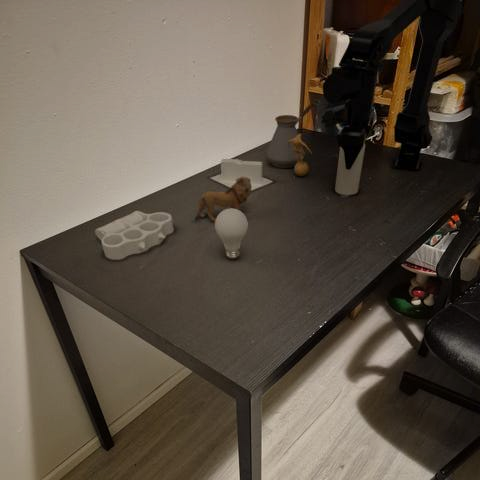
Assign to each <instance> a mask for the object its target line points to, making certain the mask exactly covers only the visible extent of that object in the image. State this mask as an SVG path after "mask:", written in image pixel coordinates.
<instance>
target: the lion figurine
mask: <svg viewBox="0 0 480 480" xmlns="http://www.w3.org/2000/svg"><path fill="white" fill-rule="evenodd" d="M251 187H252V186H251V183H250V179H248V178H247V177H244V176H243V177H240V178H238V179H236V183H235V184H234V185H232V187H231V188H230V187H229V188H228V189H227V190H225V191H214V190H209V191H206V192H204V193H203V194H202V195H201V197H200V198H199V201H198V210H197V214H196V216H195V218H194V221H198V220H199V219H200V218H204V217H205V216H206V214H205V213H203V212H204V211H205V210H206V209H207V210H208V213H207V215H208V217H209V218H210V220H211V221H212V222H215V221H216V218H217V217H214V215H213V213H214V210H215V205H216V206H218V207H220V208H227V207H230V208H233V209H237V210H239V211H241V210H240V209H241V205H242V204H245V203H246V202H247V201H248V198H249V196H251V192H252V191H251Z"/></svg>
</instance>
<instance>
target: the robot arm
mask: <svg viewBox="0 0 480 480" xmlns="http://www.w3.org/2000/svg"><path fill="white" fill-rule="evenodd" d="M462 11H463V3H462V2H461V0H402V1H400V2H399V3H398V4H397V5H396V6H395V7H393V8H392V9H391V10H390V11H388V13H386V14H385V15H384V16H382V18H380V19H379V20H377V21H376V20H375V21H373V22H370V23H366V24H365V25H363V26H361V27H359V28H358V29H357V30H355V32H353V34H352V36H351V39H350V41H349V42H348V45H347V46H346V49H345V50H344V53H343V55H342V57H341V58H340V61H339V62H338V66H332V68H331V73H330V74H328V75H327V76H326V78H325V79H324V82H323V83H322V94H323V95H322V96H323V97H324V99H325V101H326V102H328V103H329V104H332V105H333V104H337V103H341V102H344V104H340V105H338V106H334V107H330V108H327V109H325V110H324V111H323V112H322V113H321V121H320V122H321V124H323V127H324V129H328V128H331V127H332V126H335V125H339V124H341V127H342V126H343V127H342V128H340V130H339V131H338V133H337V134H336V139H335V144H336V145H337V146H338V147H339V148H340V147H341V148H342V149H343V150H344V157H345V165H346V169H348V170H350V169H351V167H352V166H353V164H354V162H355V160H356V158H357V156H358V155H359V153H360V151H361V149H362V147H363V145H364V143H365V144H366V140H367V138H368V136H369V135H370V133H371V131H372V128H373V127H374V124H375V122H376V121H375V120H376V114H375V112H374V110H373V106H374V104H375V99H376V98H375V93H376V87H377V81H378V75H379V72H382V71H384V70H385V66H384V65H383V63H382V62H381V61H382V60H383V59H384V58H385V56H386V55H387V54H388V53H389V52H390V50H391V49H392V46H393V42H394V40H395V39H396V38H397V37H398V36H400V35H401V33H403V32H404V31H405V30H406V29H407V28H409V26H410V25H412V24H413V23H414V22H415V21H416V20H417V19H419V18H420V19H419V24H418V26H419V27H418V28H419V32H420V36H421V40H422V43H421V46H420V51H419V55H418V60H417V64H416V67H415V72H414V76H413V80H412V83H411V84H412V85H411V89H410V93H409V97H408V101H407V105H406V106H405V107H404V109H402V111H400V112H398V113H397V115H396V120H395V124H394V125H393V129H394V132H393V133H394V136H393V137H394V143H398V144H400V148H399V151H398V156H397V158H396V159H395V163H394V167H393V168H394V169H400V170H410V171H418V170H419V166H420V156H421V153H422V150H427V149H428V148H429V147H430V145H431V144H432V141H433V136H432V133H431V130H430V129H429V127H430V126H429V125H430V122H431V116H430V113H429V108H428V103H429V100H430V96H431V92H432V89H433V84H434V81H435V77H436V74H437V70H438V66H439V63H440V59H441V55H442V52H443V47H444V43H445V42H446V40H447V39H448V38H449V36H450V35H451V34H452V33H453V31H454V30H455V29H456V27H457V23H458V20H459V19H460V16H461V14H462Z"/></svg>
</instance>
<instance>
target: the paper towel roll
mask: <svg viewBox="0 0 480 480" xmlns="http://www.w3.org/2000/svg"><path fill="white" fill-rule="evenodd" d="M365 149H366V142H365V143H364V145H363V147H362V149H361V151H360V153H359V155H358V156H357V158H356V160H355V162H354V164H353V166H352V167H351V169H350V170H348V169H346V165H345V157H344V150H343V149H342V148H341V147H340V146H339V154H338V161H337V170H336V178H335V187H334V191H335V192H336V193H337V194H340V195H343V196H352V195H355V194H357V193H358V192H359V189H360V188H359V187H360V182H361V181H360V180H361V175H362V168H363V163H364V161H363V160H364V156H365Z"/></svg>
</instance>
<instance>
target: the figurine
mask: <svg viewBox="0 0 480 480" xmlns="http://www.w3.org/2000/svg"><path fill="white" fill-rule="evenodd" d="M289 142H293V144H294V146H295V148H294V150H295V152H296V153H297V154H298V155H297V156H296V158H297V161H298V163H297V164H296V165H295V166H294V167H293V168H294V169H293V170H294V173H295V175H297V176H298V177H304V176H306V175H307V174H308V172H309V165H308V163H307V162H306V161H303V160H304V157H305V155H306V152H305V151H303V150H304V148H303V149H301V144H302V147H305V148H306V149H307V151H308V152H309V153H310V155H311V156H313V152H312V151H311V149H310V148H309V147H308V145H307V144H306V143H305V142H304V141H303V140H302V134H301V133H298V135H297V136H296V137H295V138H293V139H291V140H288V144H287V149H289V148H288V147H290V146H289ZM299 153H301V154H302V155H303V156H302V157H301V161H299V159H298V157H299Z"/></svg>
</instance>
